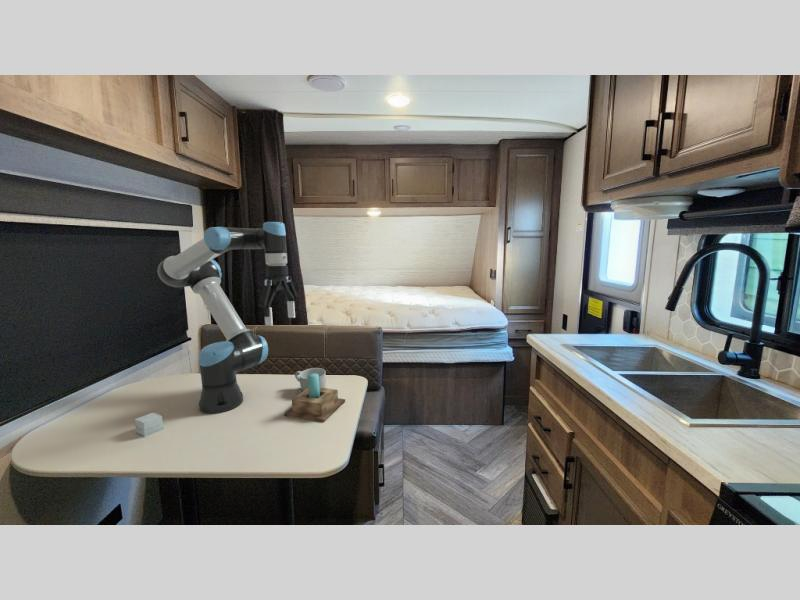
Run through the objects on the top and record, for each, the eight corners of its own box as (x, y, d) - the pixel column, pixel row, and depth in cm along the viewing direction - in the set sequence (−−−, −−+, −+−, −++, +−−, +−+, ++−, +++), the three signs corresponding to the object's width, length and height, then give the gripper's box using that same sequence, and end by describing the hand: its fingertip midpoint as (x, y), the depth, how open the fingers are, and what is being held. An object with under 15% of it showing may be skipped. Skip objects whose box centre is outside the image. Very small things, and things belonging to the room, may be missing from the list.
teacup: (332, 388, 144) (331, 370, 143) (312, 398, 135) (311, 379, 134) (308, 382, 151) (307, 364, 150) (289, 391, 142) (287, 372, 141)
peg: (307, 407, 125) (305, 377, 123) (313, 402, 129) (311, 372, 127) (317, 409, 124) (314, 378, 122) (322, 404, 128) (320, 373, 125)
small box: (164, 429, 114) (162, 415, 113) (144, 437, 109) (142, 423, 108) (154, 425, 117) (153, 411, 116) (135, 433, 112) (133, 419, 111)
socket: (284, 415, 122) (283, 401, 121) (309, 396, 137) (308, 383, 136) (324, 422, 117) (323, 407, 116) (345, 401, 132) (344, 388, 131)
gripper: (262, 267, 113) (267, 329, 116) (304, 263, 136) (307, 315, 139) (243, 267, 115) (249, 328, 118) (288, 263, 138) (292, 314, 142)
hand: (281, 321), depth 129 cm, fingers open, 13 cm apart
